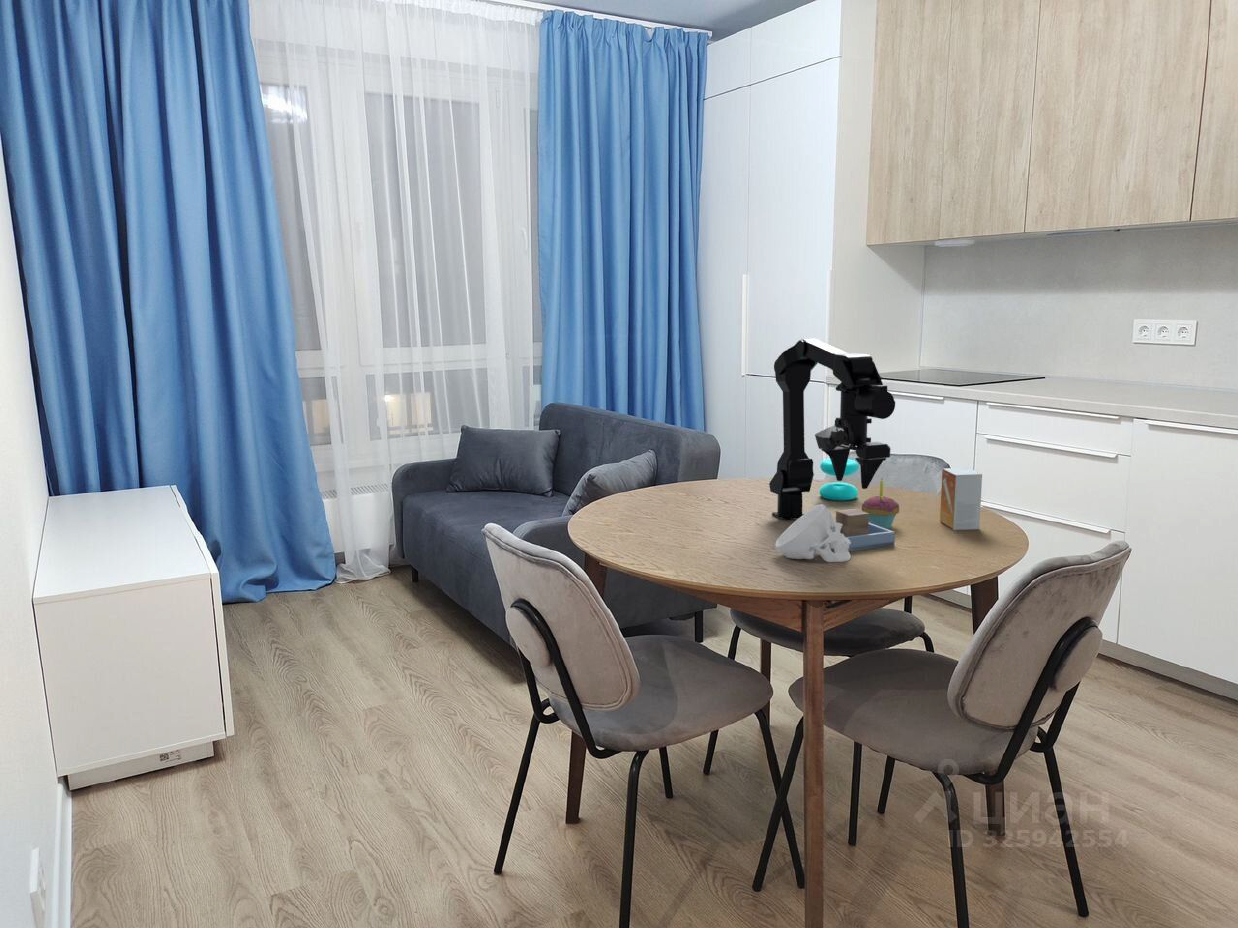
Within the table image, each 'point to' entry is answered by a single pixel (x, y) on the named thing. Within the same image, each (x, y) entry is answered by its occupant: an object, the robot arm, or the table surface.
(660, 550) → the table surface
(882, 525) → the cupcake
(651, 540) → the table surface
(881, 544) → the tray
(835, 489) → the donuts
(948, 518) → the small box
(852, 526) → the block
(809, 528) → the skull bowl
